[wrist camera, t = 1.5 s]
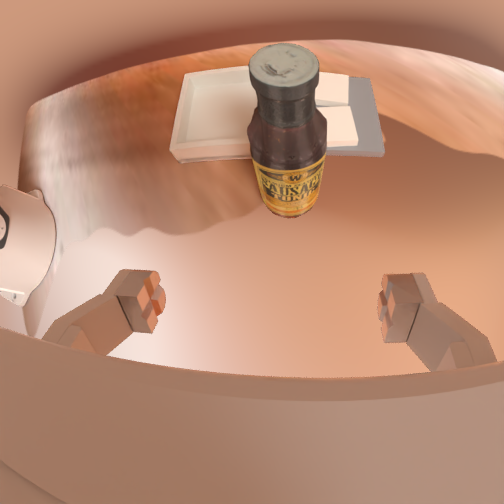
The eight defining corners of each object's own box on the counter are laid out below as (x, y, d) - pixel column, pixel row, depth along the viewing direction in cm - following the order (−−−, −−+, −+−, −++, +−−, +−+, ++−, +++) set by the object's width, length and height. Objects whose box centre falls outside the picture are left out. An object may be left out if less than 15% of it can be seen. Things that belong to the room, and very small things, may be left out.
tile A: (314, 147, 33) (315, 142, 32) (308, 113, 34) (308, 108, 33) (357, 145, 33) (358, 140, 31) (348, 111, 34) (349, 106, 33)
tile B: (307, 104, 35) (307, 98, 34) (310, 76, 36) (310, 71, 34) (347, 108, 34) (348, 103, 33) (347, 81, 35) (348, 75, 34)
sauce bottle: (266, 225, 34) (220, 114, 15) (259, 174, 35) (214, 43, 16) (325, 216, 33) (347, 96, 14) (315, 165, 34) (318, 27, 15)
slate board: (299, 155, 35) (299, 150, 34) (296, 81, 37) (296, 76, 36) (382, 157, 33) (384, 152, 32) (368, 83, 36) (369, 78, 34)
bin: (179, 163, 37) (169, 150, 34) (192, 89, 40) (185, 73, 36) (272, 157, 35) (269, 142, 32) (273, 81, 38) (270, 64, 34)
